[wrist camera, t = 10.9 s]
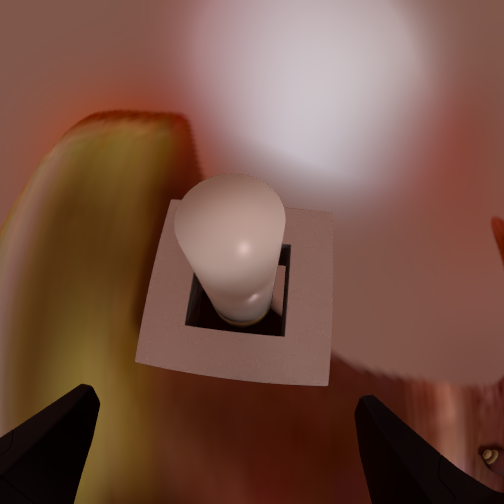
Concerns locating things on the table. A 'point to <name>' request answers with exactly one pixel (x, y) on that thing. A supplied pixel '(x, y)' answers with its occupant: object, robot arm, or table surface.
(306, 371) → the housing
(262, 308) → the white tall rounded piece
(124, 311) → the table surface
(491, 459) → the gavel
